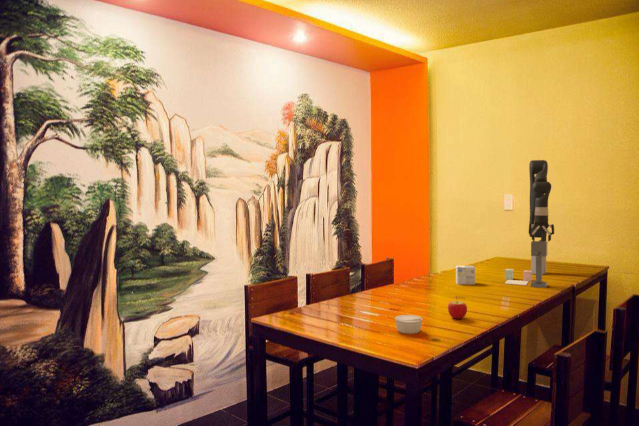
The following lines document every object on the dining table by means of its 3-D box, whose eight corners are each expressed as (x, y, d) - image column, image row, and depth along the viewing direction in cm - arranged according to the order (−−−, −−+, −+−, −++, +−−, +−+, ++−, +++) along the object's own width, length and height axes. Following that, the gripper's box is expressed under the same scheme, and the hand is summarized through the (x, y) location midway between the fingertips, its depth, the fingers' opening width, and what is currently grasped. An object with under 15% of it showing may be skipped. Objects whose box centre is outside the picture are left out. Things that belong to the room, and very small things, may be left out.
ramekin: (413, 336, 201) (413, 323, 200) (389, 331, 208) (389, 318, 208) (427, 330, 209) (427, 317, 209) (404, 325, 216) (404, 313, 216)
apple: (463, 315, 231) (463, 294, 230) (469, 320, 222) (469, 298, 222) (445, 316, 230) (445, 294, 230) (451, 321, 222) (451, 298, 221)
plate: (507, 280, 313) (507, 279, 313) (528, 281, 307) (528, 281, 307) (504, 283, 303) (504, 283, 303) (525, 285, 297) (525, 284, 297)
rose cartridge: (524, 279, 314) (524, 270, 314) (532, 280, 312) (532, 270, 312) (523, 281, 310) (523, 271, 310) (531, 281, 308) (531, 271, 308)
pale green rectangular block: (506, 278, 320) (506, 268, 320) (513, 278, 318) (513, 269, 318) (504, 279, 317) (504, 269, 316) (512, 279, 314) (512, 270, 314)
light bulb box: (473, 282, 307) (473, 265, 307) (475, 284, 301) (475, 267, 300) (455, 282, 308) (455, 265, 308) (457, 284, 302) (457, 267, 301)
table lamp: (532, 284, 300) (532, 240, 298) (547, 285, 296) (547, 241, 294) (530, 287, 291) (530, 242, 290) (545, 288, 287) (545, 243, 286)
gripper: (554, 214, 305) (554, 241, 306) (529, 214, 312) (529, 240, 313) (553, 215, 299) (553, 242, 300) (528, 214, 306) (527, 241, 307)
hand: (541, 241), depth 306 cm, fingers open, 8 cm apart
